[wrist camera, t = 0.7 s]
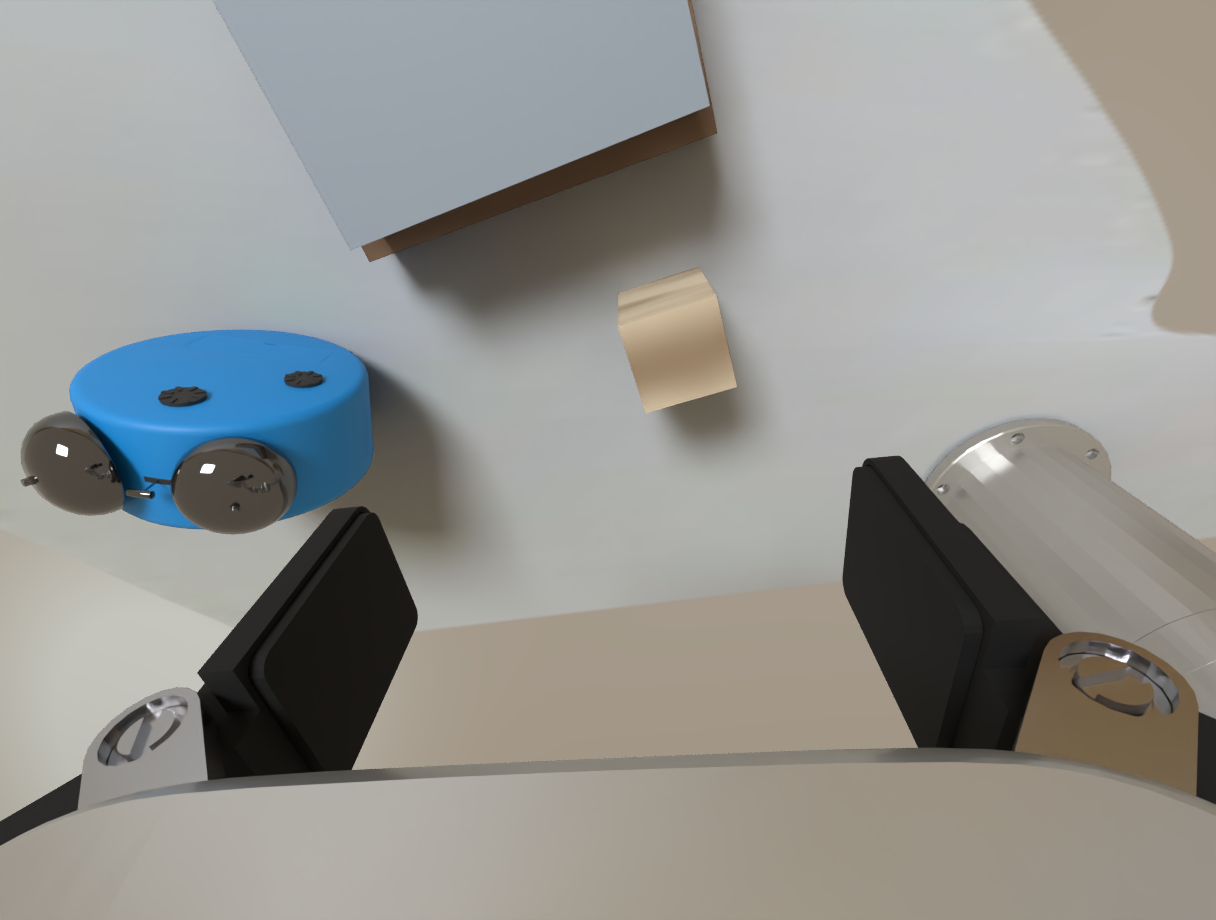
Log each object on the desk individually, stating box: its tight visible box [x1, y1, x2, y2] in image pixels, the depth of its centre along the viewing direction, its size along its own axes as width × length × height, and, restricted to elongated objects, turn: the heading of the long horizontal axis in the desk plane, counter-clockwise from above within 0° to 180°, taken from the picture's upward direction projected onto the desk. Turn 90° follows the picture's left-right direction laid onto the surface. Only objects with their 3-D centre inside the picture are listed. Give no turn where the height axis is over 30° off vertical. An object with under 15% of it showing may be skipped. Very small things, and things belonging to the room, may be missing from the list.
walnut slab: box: [361, 0, 717, 262], centre depth 26 cm, size 14×19×4 cm
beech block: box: [618, 267, 737, 413], centre depth 31 cm, size 5×5×7 cm
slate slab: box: [213, 0, 710, 250], centre depth 23 cm, size 12×17×4 cm
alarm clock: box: [21, 330, 373, 534], centre depth 30 cm, size 13×6×15 cm, turn 81°
